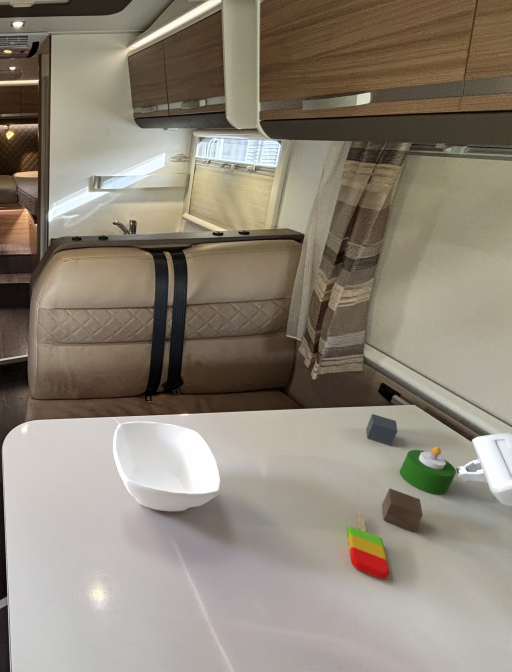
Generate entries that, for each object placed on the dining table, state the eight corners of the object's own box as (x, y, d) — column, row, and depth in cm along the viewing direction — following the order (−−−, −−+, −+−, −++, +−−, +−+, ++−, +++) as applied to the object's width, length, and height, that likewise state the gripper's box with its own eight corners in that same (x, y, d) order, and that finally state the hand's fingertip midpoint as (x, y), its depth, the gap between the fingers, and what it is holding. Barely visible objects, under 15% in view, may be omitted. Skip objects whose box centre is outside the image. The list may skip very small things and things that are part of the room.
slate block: (389, 435, 116) (396, 420, 114) (391, 446, 112) (397, 431, 110) (366, 428, 119) (372, 413, 117) (367, 438, 115) (372, 423, 113)
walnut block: (411, 516, 93) (419, 499, 91) (414, 532, 89) (423, 515, 87) (382, 504, 95) (389, 488, 94) (383, 520, 92) (390, 503, 90)
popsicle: (351, 567, 82) (354, 561, 82) (343, 511, 94) (345, 505, 93) (388, 583, 80) (391, 576, 79) (375, 522, 91) (377, 516, 91)
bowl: (112, 526, 91) (117, 486, 87) (106, 452, 111) (110, 416, 107) (222, 542, 87) (233, 501, 83) (196, 462, 108) (203, 426, 103)
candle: (405, 462, 107) (418, 430, 103) (450, 483, 101) (467, 449, 97) (395, 477, 102) (409, 445, 99) (442, 500, 96) (459, 466, 93)
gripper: (517, 420, 96) (441, 437, 105) (548, 477, 81) (457, 491, 90) (538, 444, 95) (459, 459, 104) (574, 506, 80) (478, 517, 89)
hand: (458, 474), depth 97 cm, fingers closed, pressing on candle
